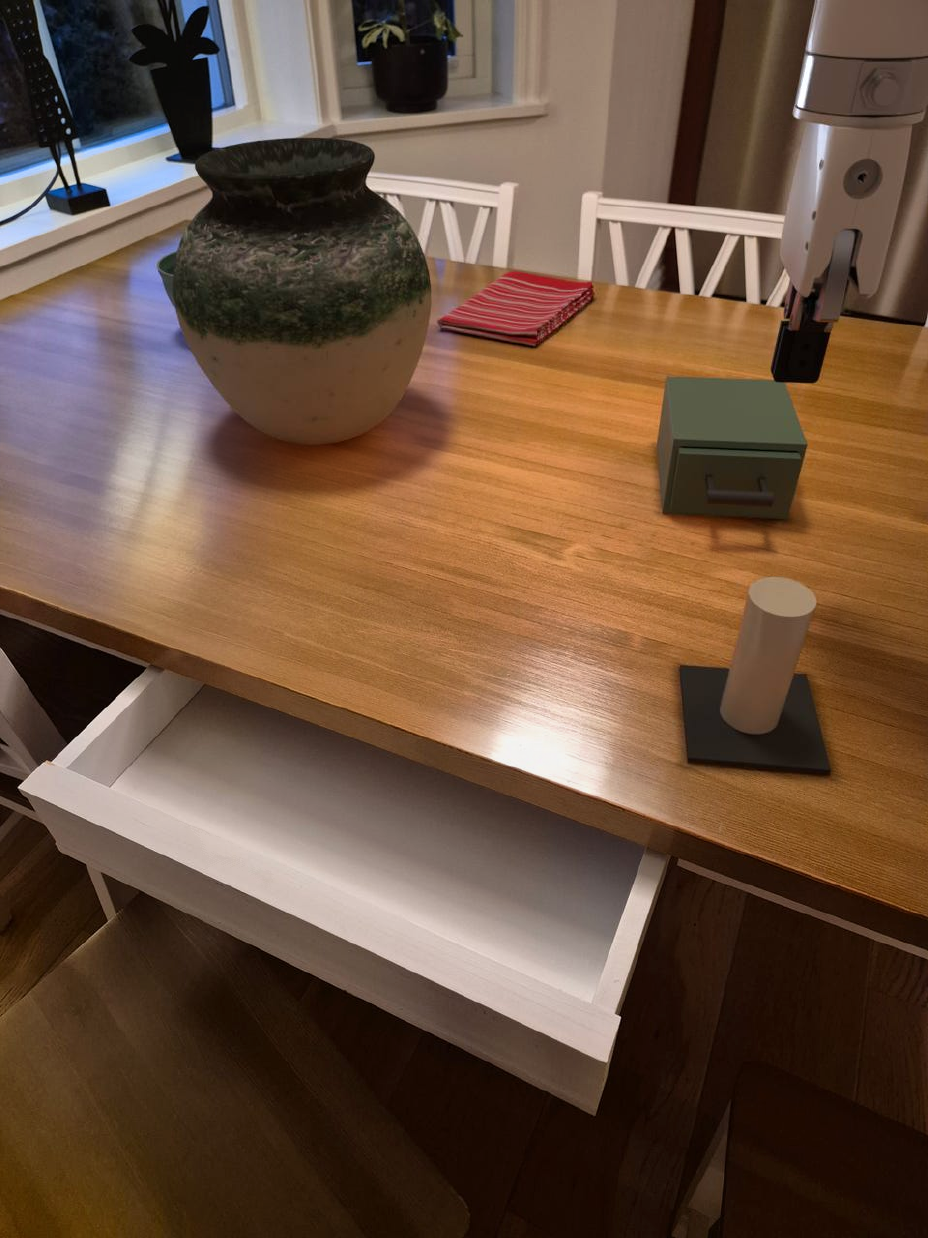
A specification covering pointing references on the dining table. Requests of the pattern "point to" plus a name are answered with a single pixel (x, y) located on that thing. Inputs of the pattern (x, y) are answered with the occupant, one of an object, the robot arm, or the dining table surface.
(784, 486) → the drawer
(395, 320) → the vase
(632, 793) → the dining table surface
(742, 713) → the cylinder
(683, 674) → the mat
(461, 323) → the dish towel
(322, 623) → the dining table surface
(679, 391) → the cabinet
